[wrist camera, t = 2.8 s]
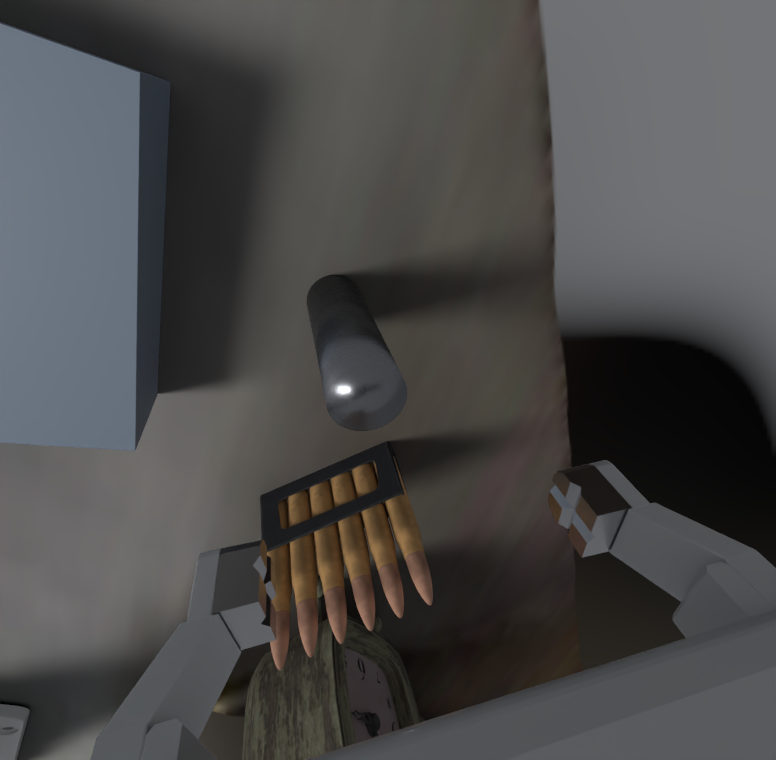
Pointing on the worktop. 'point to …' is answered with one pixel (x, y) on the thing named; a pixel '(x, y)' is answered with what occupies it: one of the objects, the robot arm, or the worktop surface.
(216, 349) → the worktop surface
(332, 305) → the steel pin
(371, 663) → the tabletop clock
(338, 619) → the ammunition clip
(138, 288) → the bore block
